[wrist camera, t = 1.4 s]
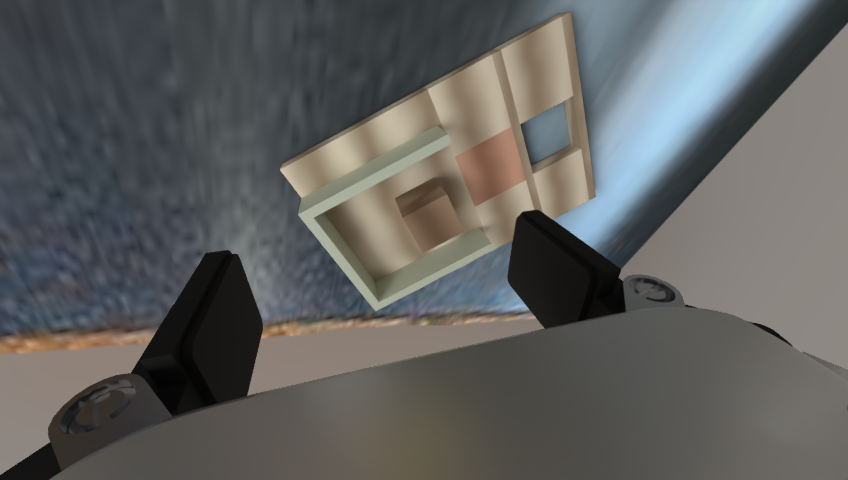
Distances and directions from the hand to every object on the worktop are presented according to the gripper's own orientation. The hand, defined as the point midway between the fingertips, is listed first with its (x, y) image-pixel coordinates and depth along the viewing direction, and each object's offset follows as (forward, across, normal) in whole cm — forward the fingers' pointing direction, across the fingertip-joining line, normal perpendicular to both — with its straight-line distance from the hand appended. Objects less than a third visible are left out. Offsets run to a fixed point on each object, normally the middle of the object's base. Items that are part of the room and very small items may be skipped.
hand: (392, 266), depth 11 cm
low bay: (+24, -5, +10) cm, 27 cm away
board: (+26, -12, +7) cm, 29 cm away
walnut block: (+24, -7, +9) cm, 27 cm away
